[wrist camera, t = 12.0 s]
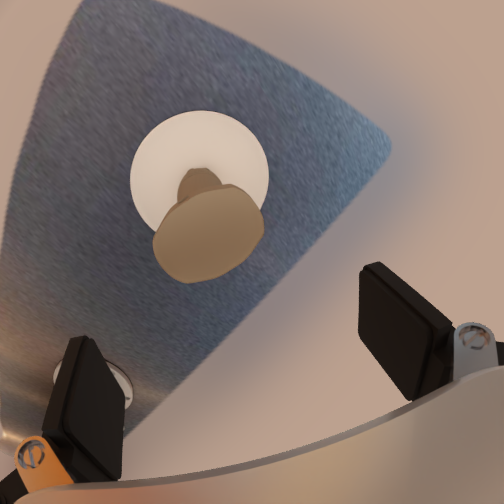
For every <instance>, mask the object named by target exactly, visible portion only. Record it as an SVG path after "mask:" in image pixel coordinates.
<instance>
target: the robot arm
mask: <svg viewBox="0 0 504 504" xmlns="http://www.w3.org/2000/svg"><path fill="white" fill-rule="evenodd" d="M358 333H359V337H360V339H361V340H362V342H363V343H364V344H365V345H366V347H367V348H368V349H369V351H370V352H371V353H372V355H373V356H374V357H375V359H376V360H377V361H378V363H379V364H380V365H381V366H382V368H383V369H384V370H385V372H386V373H387V374H388V376H389V377H390V378H391V380H392V381H393V382H394V384H395V385H396V386H397V388H398V389H399V390H400V391H401V393H402V394H403V396H404V397H405V398H406V399H407V400H408V401H411V400H412V402H411V403H409V404H407V405H405V406H403V407H400V408H398V409H396V410H394V411H392V412H390V413H388V414H385V415H383V416H381V417H379V418H376V419H374V420H372V421H369V422H367V423H365V424H362V425H360V426H357V427H355V428H353V429H350V430H347V431H345V432H342V433H339V434H337V435H334V436H331V437H329V438H326V439H323V440H320V441H317V442H314V443H311V444H308V445H305V446H302V447H299V448H296V449H292V450H289V451H286V452H282V453H279V454H275V455H272V456H268V457H265V458H261V459H257V460H253V461H249V462H245V463H240V464H236V465H231V466H226V467H222V468H217V469H211V470H206V471H201V472H195V473H188V474H182V475H175V476H167V477H159V478H149V479H139V480H128V481H118V479H120V478H121V474H122V473H121V472H122V446H123V445H122V444H123V431H124V429H125V428H124V414H125V409H127V408H128V407H129V405H130V404H131V402H132V399H133V388H132V385H131V382H130V381H129V379H128V377H127V376H126V375H125V374H124V373H123V372H122V371H121V370H120V369H118V368H117V367H115V366H114V365H112V364H111V363H109V362H106V361H105V359H104V358H103V356H102V354H101V352H100V350H99V349H98V347H97V345H96V343H95V341H94V340H93V339H89V338H88V337H87V336H85V335H84V336H79V337H74V338H71V339H70V341H69V344H68V346H67V349H66V352H65V355H64V358H63V360H62V361H60V362H59V364H58V365H57V366H56V368H55V371H54V375H53V381H54V388H53V391H52V394H51V398H50V401H49V405H48V408H47V412H46V415H45V419H44V423H43V426H42V431H43V434H42V437H40V436H32V437H28V438H26V439H25V440H23V441H22V442H21V443H20V444H19V446H18V447H17V449H16V451H15V454H14V462H15V466H16V469H15V470H14V471H13V472H11V473H10V474H9V475H8V476H7V477H5V478H4V479H3V480H2V481H1V482H0V504H504V342H497V341H495V337H494V334H493V333H492V331H491V330H490V329H489V328H487V327H486V326H484V325H482V324H480V323H474V322H469V323H464V324H461V325H460V326H458V327H457V329H455V328H454V327H453V326H452V322H451V321H450V320H449V319H448V318H447V317H446V316H444V315H443V314H442V313H441V312H440V311H439V310H438V309H436V308H435V307H434V306H433V305H432V304H431V303H430V302H428V301H427V300H426V299H425V298H424V297H422V296H421V295H420V294H419V293H418V292H417V291H415V290H414V289H413V288H412V287H411V286H409V285H408V284H407V283H406V282H405V281H403V280H402V279H401V278H400V277H398V276H397V275H396V274H395V273H394V272H392V271H391V270H390V269H389V268H387V267H386V266H385V265H384V264H382V263H381V262H375V263H372V264H368V265H365V266H364V267H363V270H362V271H360V273H359V318H358Z"/></svg>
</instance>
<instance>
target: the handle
mask: <svg viewBox="0 0 504 504" xmlns="http://www.w3.org/2000/svg"><path fill="white" fill-rule="evenodd" d="M263 235H264V220H263V217H262V214H261V212H260V210H259V208H258V206H257V205H256V203H255V202H254V201H253V199H252V198H251V197H250V196H249V195H248V194H247V193H246V192H245V191H244V190H243V189H241V188H239V187H238V186H235V185H233V184H223V185H222V183H221V181H220V179H219V178H218V177H217V176H216V175H215V174H214V173H213V172H211V171H210V170H209V169H208V168H196V169H194V168H191V169H189V170H188V171H187V174H186V175H185V176H184V177H183V178H182V180H181V182H180V184H179V187H178V193H177V203H176V204H175V205H173V206H172V207H171V208H170V209H169V211H168V212H167V214H166V215H165V217H164V219H163V220H162V222H161V224H160V226H159V227H158V229H157V231H156V233H155V235H154V238H153V250H154V255H155V257H156V259H157V261H158V263H159V264H160V265H161V267H162V268H163V269H164V270H165V271H166V272H167V273H168V274H169V275H170V276H171V277H173V278H174V279H176V280H178V281H180V282H183V283H186V284H187V283H194V282H200V281H206V280H210V279H214V278H217V277H219V276H221V275H223V274H225V273H227V272H228V271H230V270H231V269H233V268H234V267H236V266H238V265H239V264H240V263H242V262H243V261H244V260H246V258H247V257H248V256H249V255H250V254H251V253H252V251H253V250H254V248H255V247H256V245H257V244H258V242H259V241H260V239H261V238H262V236H263Z"/></svg>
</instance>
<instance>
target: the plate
mask: <svg viewBox="0 0 504 504" xmlns="http://www.w3.org/2000/svg"><path fill="white" fill-rule="evenodd" d="M191 168H194V169H196V168H208V169H209V170H210V171H211V172H213V173H214V174H215V175H216V176H217V177H218V178H219V179H220V181H221V183H222V185H223V184H233V185H235V186H238V187H239V188H241V189H243V190H244V191H245V192H246V193H247V194H248V195H249V196H250V197H251V198H252V199H253V201H254V202H255V203H256V205H257V206H258V208H259V210H260V209H261V207H262V204H263V202H264V200H265V197H266V193H267V189H268V180H269V172H268V164H267V160H266V156H265V154H264V151H263V149H262V147H261V145H260V143H259V141H258V140H257V139H256V137H255V136H254V135H253V133H252V132H251V131H250V130H249V129H248V128H247V127H245V126H244V125H243V124H241V123H240V122H239V121H237V120H235V119H233V118H231V117H229V116H227V115H224V114H221V113H217V112H212V111H191V112H185V113H182V114H178V115H176V116H173V117H171V118H169V119H167V120H165V121H164V122H162V123H160V124H159V125H158V126H157V127H155V128H154V129H153V130H152V131H151V132H150V133H149V134H148V135H147V136H146V137H145V139H144V140H143V142H142V143H141V144H140V146H139V148H138V150H137V152H136V154H135V157H134V160H133V163H132V168H131V175H130V186H131V193H132V198H133V201H134V203H135V206H136V208H137V210H138V212H139V214H140V215H141V217H142V218H143V220H144V221H145V222H146V223H147V224H148V225H149V227H150V228H152V229H153V230H154V231H155V232H156V231H157V229H158V227H159V226H160V224H161V222H162V220H163V219H164V217H165V215H166V214H167V212H168V211H169V209H170V208H171V207H172V206H173V205H175V204H176V203H177V193H178V187H179V184H180V182H181V180H182V178H183V177H184V176H185V175H186V174H187V171H188V170H189V169H191Z"/></svg>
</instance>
